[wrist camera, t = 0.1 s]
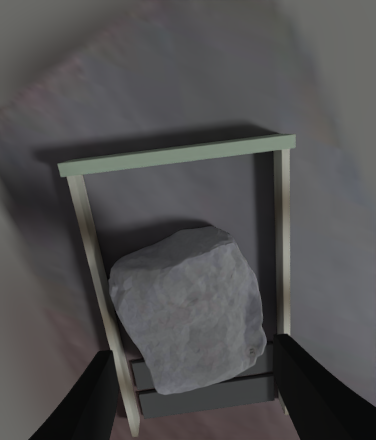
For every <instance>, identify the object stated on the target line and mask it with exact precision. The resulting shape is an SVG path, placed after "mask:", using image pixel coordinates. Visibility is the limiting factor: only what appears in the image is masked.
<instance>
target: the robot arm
mask: <svg viewBox="0 0 376 440" xmlns="http://www.w3.org/2000/svg"><path fill="white" fill-rule="evenodd" d="M272 371H273V374H274V377H275V380H276V384H277V386H278V389H279V392H280V395H281V397H282V400H283V402H284V404H285V406H286V409H287V411H288V413H289V415H290V418H291V420H292V422H293V424H294V426H295V429H296V431H297V433H298V435H299V437H300V440H376V407H375V406H373V405H372V404H370V403H369V402H368V401H366V400H365V399H363V398H362V397H361V396H359V395H358V394H356V393H355V392H354V391H352V390H351V389H350V388H348V387H347V386H346V385H345V384H343V383H342V382H341V381H339V380H338V379H337V378H336V377H335V376H333V375H332V374H331V373H330V372H329V371H327V370H326V369H325V368H324V367H323V366H322V365H321V364H320V363H318V362H317V361H316V360H315V359H314V358H313V357H312V356H311V355H310V354H308V353H307V352H306V351H305V350H304V349H303V348H302V347H301V346H300V345H299V344H298V343H297V342H296V341H295V340H294V339H293V338H292V337H290V336H289V335H288V334H287V333H286V334H275V335H274V338H273V367H272ZM118 391H119V382H118V377H117V371H116V366H115V361H114V355H113V350H107V351H99V352H98V353H97V354H96V355H95V357H94V358H93V360H92V361H91V362H90V364H89V365H88V367H87V368H86V370H85V371H84V372H83V374H82V375H81V377H80V378H79V379H78V381H77V382H76V383H75V385H74V386H73V387H72V389H71V390H70V391H69V393H68V394H67V396H66V397H65V398H64V399H63V400H62V402H61V403H60V404H59V405H58V407H57V408H56V409H55V410H54V412H53V413H52V414H51V415H50V416H49V417H48V419H47V420H46V421H45V422H44V423H43V424H42V426H41V427H40V428H39V429H38V430H37V431H36V432H35V433H34V434H33V435H32V436H31V437H30V438H29V439H28V440H109V439H110V435H111V430H112V426H113V422H114V417H115V413H116V407H117V399H118Z"/></svg>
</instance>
